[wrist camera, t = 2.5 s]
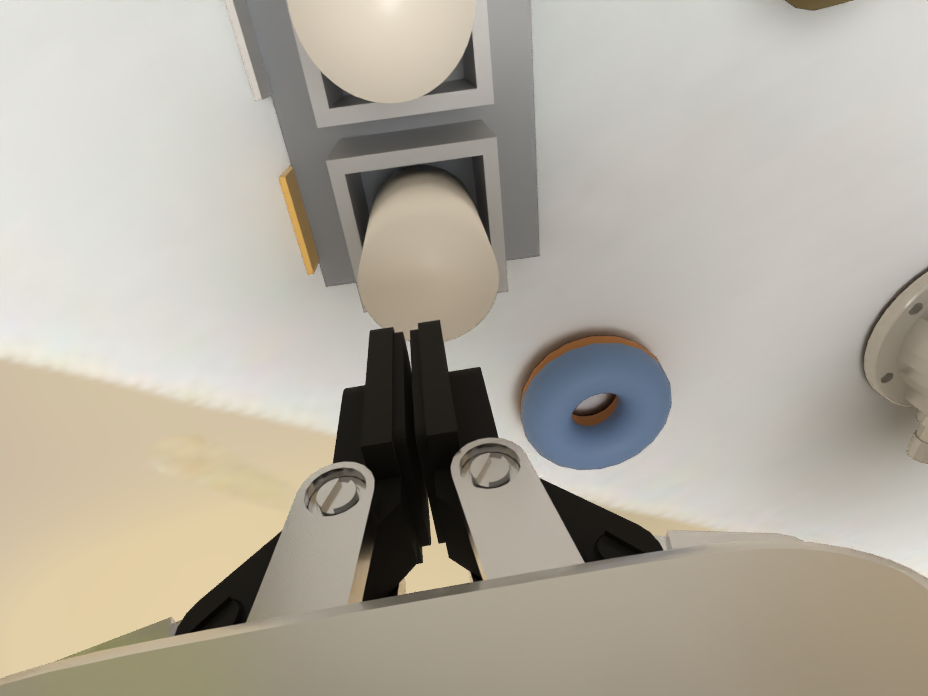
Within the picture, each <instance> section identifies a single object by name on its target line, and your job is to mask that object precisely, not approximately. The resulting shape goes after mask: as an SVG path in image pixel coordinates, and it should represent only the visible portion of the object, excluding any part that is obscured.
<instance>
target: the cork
mask: <svg viewBox="0 0 928 696" xmlns="http://www.w3.org/2000/svg"><path fill="white" fill-rule="evenodd" d="M785 1H787V2H788V3H790V4H791V5H793V6H794V7H795V8H801V9H807V10H818V9H822V8H826V7H830V6H834V5H838V4H842V3H845V2H849V1H852V0H785Z"/></svg>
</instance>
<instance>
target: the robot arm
mask: <svg viewBox="0 0 928 696" xmlns="http://www.w3.org/2000/svg"><path fill="white" fill-rule="evenodd" d="M410 346H411V366H412V371H411V366H410V361H409V357H408V352H407V347H406V342H405V337H404V333H403V331H402V332H396V333H395V331H394V328H393V327H389V328H383V329H376V330H371V331H370V335H369V347H368V359H367V372H366V384H365V385H364V386H358V387H352V388H346V389H344V391H343V396H342V403H341V410H340V417H339V424H338V431H337V438H336V445H335V453H334V459H333V464H331V465H328V466H326V467H324V468H321V469H319V470H318V471H316V472H315V473H313V474H312V475H310V476H309V478H307V479H306V480H305V481H304V482H303V484H302V485H301V487H300V489H299V490H298V492H297V494H296V497H295V499H294V502H293V505H292V507H291V510H290V512H289V515H288V517H287V520H286V522H285V525H284V528H283V530H282V531H281V532H280V533H279V534H277V535H276V536H275V537H274V538H273V539H272V540H270V541H269V542H268V543H267V544H266V545H264V546H263V547H262V548H261V549H260V550H259V551H257V552H256V553H255V554H254V555H253V556H251V557H250V558H249V559H248V560H247V561H246V562H244V563H243V564H242V565H241V566H240V567H238V568H237V569H236V570H235V571H234V572H232V573H231V574H230V575H229V576H228V577H227V578H225V579H224V580H223V581H222V582H221V583H219V585H217V586H216V587H215V588H214V589H212V590H211V591H210V592H209V593H208V594H206V595H205V596H204V597H203V598H202V599H201V600H199V602H197V603H196V604H195V605H194V606H193V607H192V608H191V609H190V610H189V611H188V613H186V615H185V616H184V618H183V620H181V621H178V622H175V621H174V620H173V618H172V617H170V618H168V619H165V620H162V621H160V622H157V623H155V624H152V625H149V626H147V627H144V628H141V629H139V630H136V631H133V632H131V633H128V634H126V635H123V636H120V637H118V638H115V639H112V640H110V641H107V642H105V643H102V644H100V645H97V646H94V647H91V648H89V649H86V650H84V651H81V652H78V653H76V654H73V655H70V656H68V657H65V658H63V659H60V660H57V661H55V662H52V663H48V664H45V665H42V666H38V667H35V668H32V669H28V670H25V671H22V672H19V673H15V674H12V675H9V676H6V677H4V678H1V679H0V696H928V578H926V577H924V576H923V575H921V574H919V573H917V572H916V571H914V570H912V569H910V568H908V567H906V566H903V565H901V564H899V563H896V562H894V561H892V560H889V559H886V558H882V557H879V556H876V555H873V554H870V553H866V552H862V551H858V550H854V549H850V548H844V547H838V546H832V545H826V544H820V543H813V542H805V541H802V540H800V539H798V538H796V537H793V536H788V535H782V534H773V533H744V532H714V531H684V530H668V531H667V536H653V535H652V534H651V533H650V532H649V531H647V530H645V529H644V528H642V527H641V526H639V525H638V524H636V523H633V522H631V521H629V520H627V519H625V518H623V517H621V516H619V515H617V514H614V513H612V512H610V511H608V510H606V509H604V508H602V507H600V506H598V505H595V504H593V503H591V502H589V501H587V500H585V499H583V498H581V497H579V496H576V495H574V494H572V493H570V492H568V491H566V490H564V489H562V488H560V487H557V486H555V485H553V484H551V483H549V482H547V481H545V480H543V479H541V478H539V477H538V475H537V473H536V472H535V470H534V468H533V466H532V464H531V462H530V460H529V459H528V457H527V455H526V453H525V452H524V451H523V450H522V449H521V447H520V446H518V445H516V444H515V443H513V442H512V441H508V440H505V439H502V438H498V434H497V430H496V426H495V422H494V418H493V414H492V410H491V407H490V403H489V399H488V395H487V391H486V387H485V383H484V379H483V375H482V371H481V368H480V367H476V368H470V369H464V370H458V371H451V372H448V367H447V361H446V354H445V348H444V342H443V335H442V329H441V323H440V320H434V321H428V322H421V323H418V329H415V330H410ZM864 371H865V374H866V378H867V380H868V382H869V383H870V385H871V387H872V388H873V389H874V390H876V391H877V392H878V393H879V394H880V395H882V396H883V397H884V398H886V399H887V400H889V401H891V402H893V403H894V404H898V405H902V406H906V407H916V408H917V409H919V411H918V413H917V415H916V416H917V420H918V421H919V422H920V425H919V427H918V429H917V430H916V431H915V432H914V434H913V436H912V438H911V440H910V442H909V445H908V447H907V449H906V452H907V454H908V455H909V456H910V457H911V458H912V459H914V460H916V461H919V462H921V463H926V464H928V271H927V272H926V273H925V274H923V275H922V276H921V277H919V278H918V279H916V280H915V281H914V282H913V283H912V284H911V285H910V286H908V287H907V288H906V289H905V290H904V291H903V292H902V293H901V294H900V295H899V296H898V297H897V298H896V299H895V300H894V301H893V303H892V304H891V305H890V306H889V307H888V308H887V309H886V311H885V312H884V314H883V315H882V317H881V318H880V320H879V321H878V323H877V324H876V326H875V328H874V330H873V332H872V334H871V336H870V338H869V340H868V344H867V348H866V351H865V355H864ZM428 498H429V502H430V507H431V511H432V516H433V520H434V525H435V529H436V534H437V538H438V543H445V542H446V546H447V551H448V555H449V558H450V559H452V560H453V561H455V562H457V563H458V564H459V565H461V566H463V567H464V568H466V569H467V570H469V575H470V580H471V583H466V584H460V585H454V586H449V587H443V588H437V589H432V590H426V591H420V592H414V593H409V594H405V592H406V590H405V579H404V577H405V576H406V575H407V574H408V573H409V571H411V570H412V568H413V567H414V566H415V565H416V564H419V563H423V555H422V546H428V545H431V534H430V520H429V507H428Z"/></svg>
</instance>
